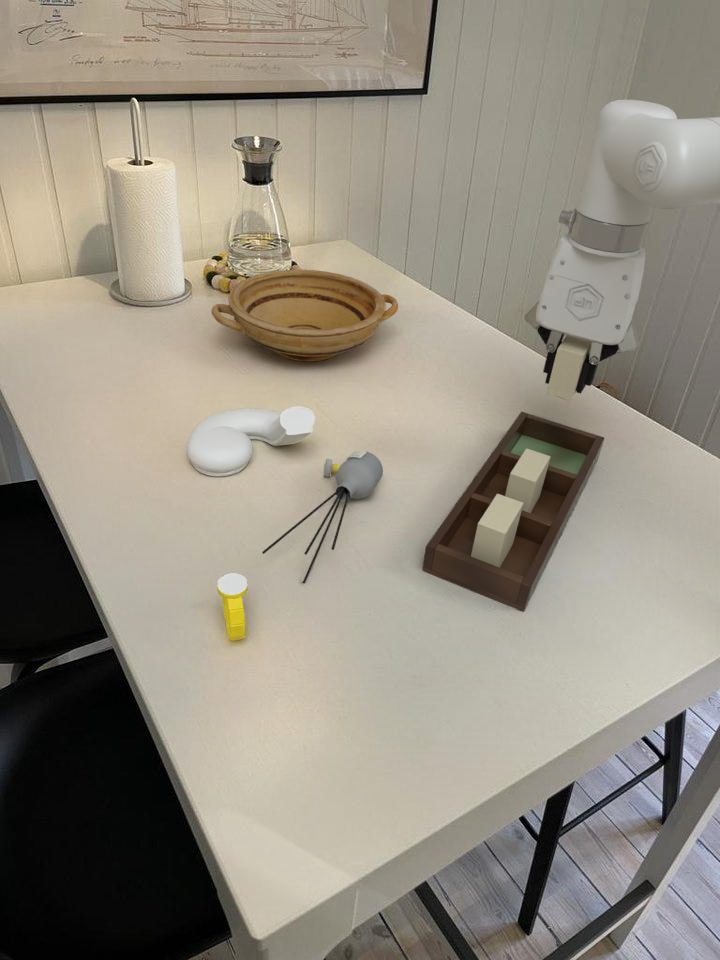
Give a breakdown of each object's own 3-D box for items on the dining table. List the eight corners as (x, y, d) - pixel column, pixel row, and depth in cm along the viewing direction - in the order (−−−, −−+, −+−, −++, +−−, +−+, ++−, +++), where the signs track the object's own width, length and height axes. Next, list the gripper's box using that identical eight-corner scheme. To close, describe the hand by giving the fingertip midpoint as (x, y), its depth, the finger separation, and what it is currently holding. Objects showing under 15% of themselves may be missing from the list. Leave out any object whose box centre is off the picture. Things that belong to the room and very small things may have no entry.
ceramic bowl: (370, 308, 134) (374, 264, 129) (419, 373, 116) (425, 325, 111) (202, 318, 126) (199, 272, 121) (226, 390, 107) (224, 339, 103)
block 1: (512, 544, 84) (523, 502, 80) (494, 576, 79) (505, 533, 76) (487, 535, 85) (497, 493, 81) (468, 566, 80) (477, 523, 77)
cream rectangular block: (583, 380, 92) (596, 335, 89) (570, 401, 88) (583, 355, 84) (559, 373, 93) (571, 329, 90) (546, 393, 89) (557, 347, 85)
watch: (215, 606, 74) (212, 562, 70) (243, 602, 75) (242, 558, 71) (223, 653, 69) (221, 608, 66) (253, 648, 70) (252, 603, 67)
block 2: (539, 496, 91) (550, 456, 88) (524, 523, 87) (535, 481, 83) (516, 488, 92) (526, 448, 89) (500, 514, 88) (510, 473, 84)
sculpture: (177, 433, 98) (172, 380, 93) (288, 418, 103) (289, 366, 98) (195, 488, 89) (191, 432, 84) (316, 468, 94) (318, 414, 89)
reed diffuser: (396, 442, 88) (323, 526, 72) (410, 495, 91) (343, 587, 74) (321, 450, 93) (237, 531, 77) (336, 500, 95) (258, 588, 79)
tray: (597, 459, 100) (605, 437, 98) (523, 612, 76) (531, 586, 74) (516, 433, 104) (521, 411, 102) (421, 570, 80) (426, 545, 78)
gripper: (522, 223, 79) (491, 377, 90) (681, 260, 74) (627, 418, 85) (542, 207, 85) (511, 353, 96) (692, 239, 79) (640, 390, 90)
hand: (566, 382), depth 90 cm, fingers closed on cream rectangular block, 3 cm apart
